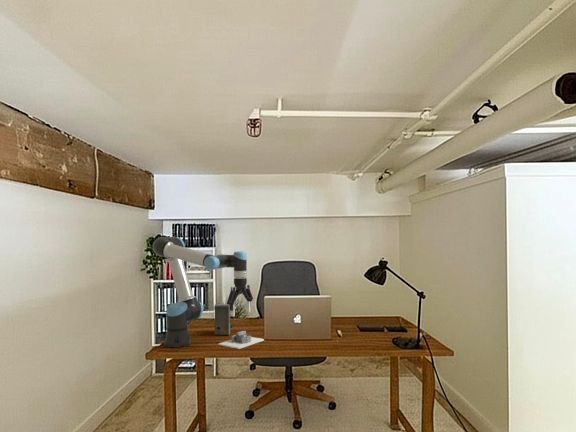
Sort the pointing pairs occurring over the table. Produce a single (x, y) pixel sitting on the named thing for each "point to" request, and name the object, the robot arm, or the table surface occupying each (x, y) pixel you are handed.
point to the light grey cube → (240, 336)
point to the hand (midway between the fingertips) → (240, 314)
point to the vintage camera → (222, 319)
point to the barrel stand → (244, 342)
